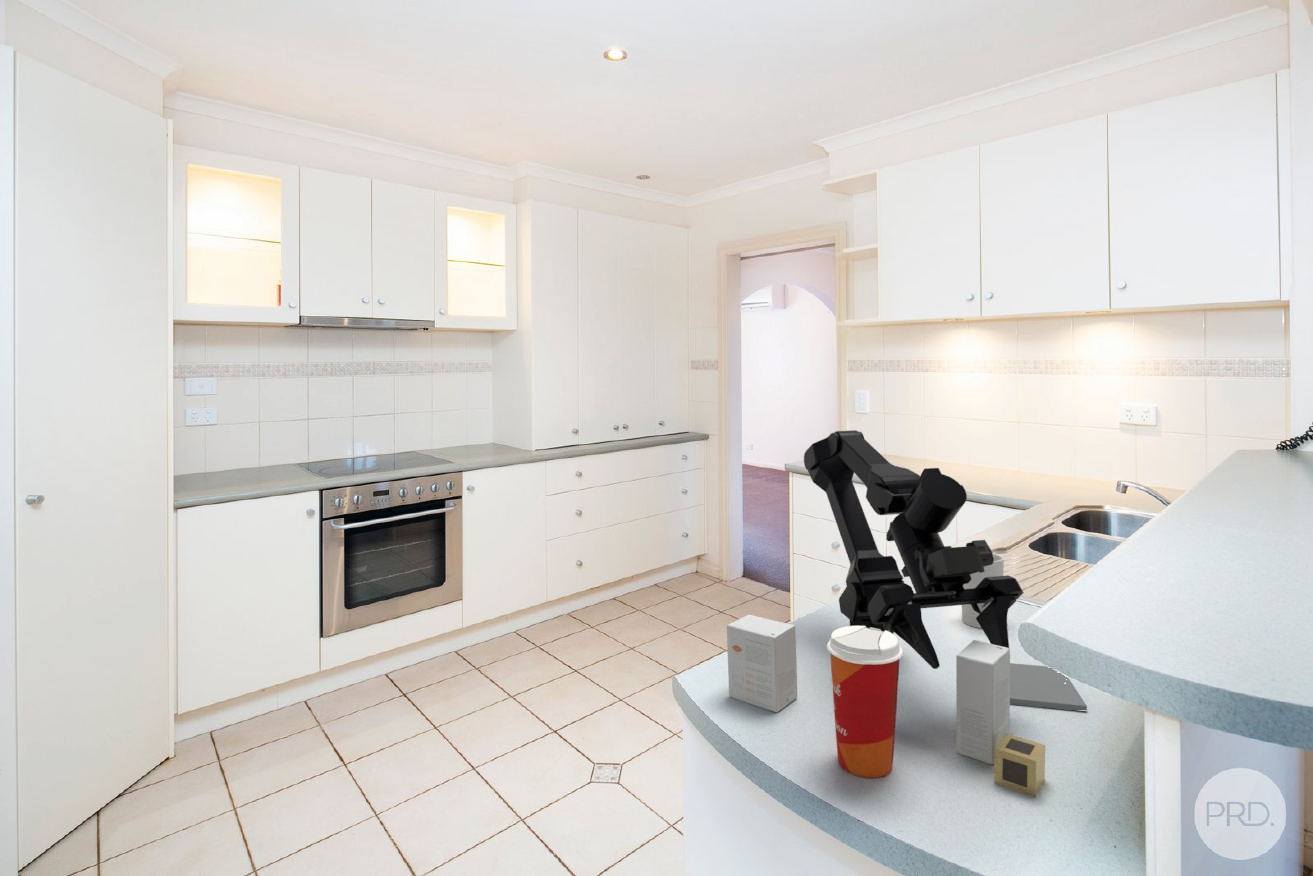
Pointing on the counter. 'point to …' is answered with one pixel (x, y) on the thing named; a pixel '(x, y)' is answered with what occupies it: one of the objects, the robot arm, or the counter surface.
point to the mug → (977, 577)
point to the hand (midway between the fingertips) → (972, 664)
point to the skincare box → (982, 699)
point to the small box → (762, 662)
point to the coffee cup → (865, 698)
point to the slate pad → (1042, 688)
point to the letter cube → (1019, 764)
